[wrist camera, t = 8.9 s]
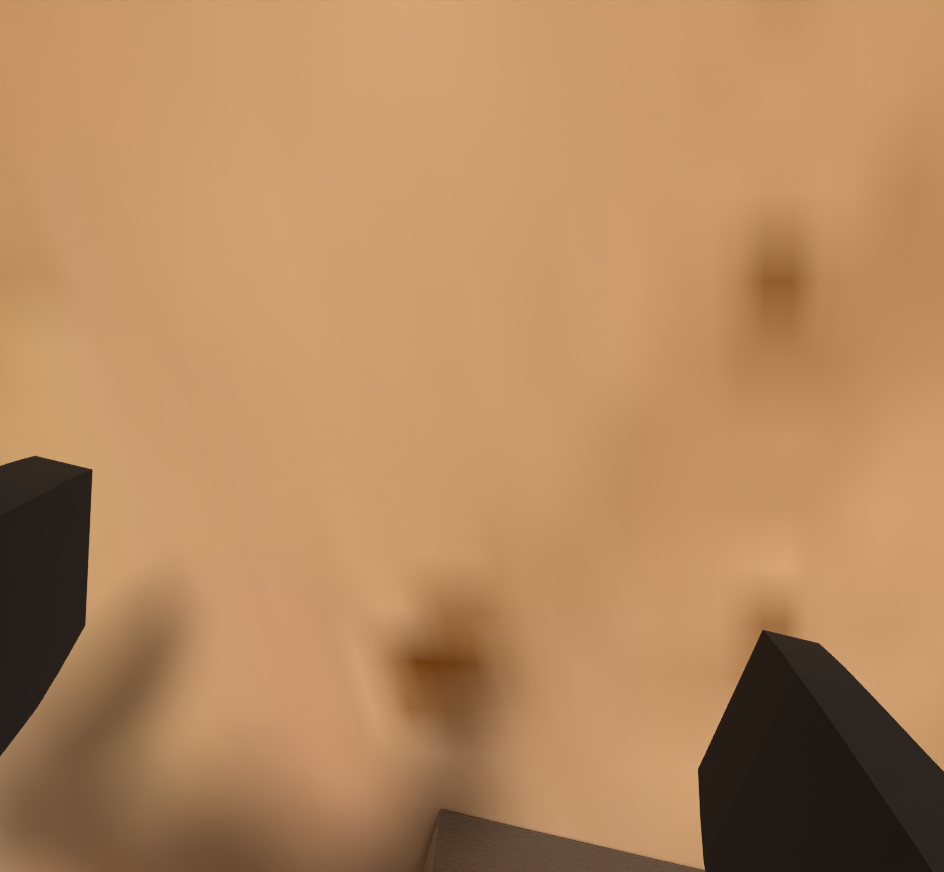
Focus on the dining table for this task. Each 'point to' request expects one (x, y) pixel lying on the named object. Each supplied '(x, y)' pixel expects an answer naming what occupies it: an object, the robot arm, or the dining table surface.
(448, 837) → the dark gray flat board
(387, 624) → the dining table surface
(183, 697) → the dining table surface
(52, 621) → the robot arm
